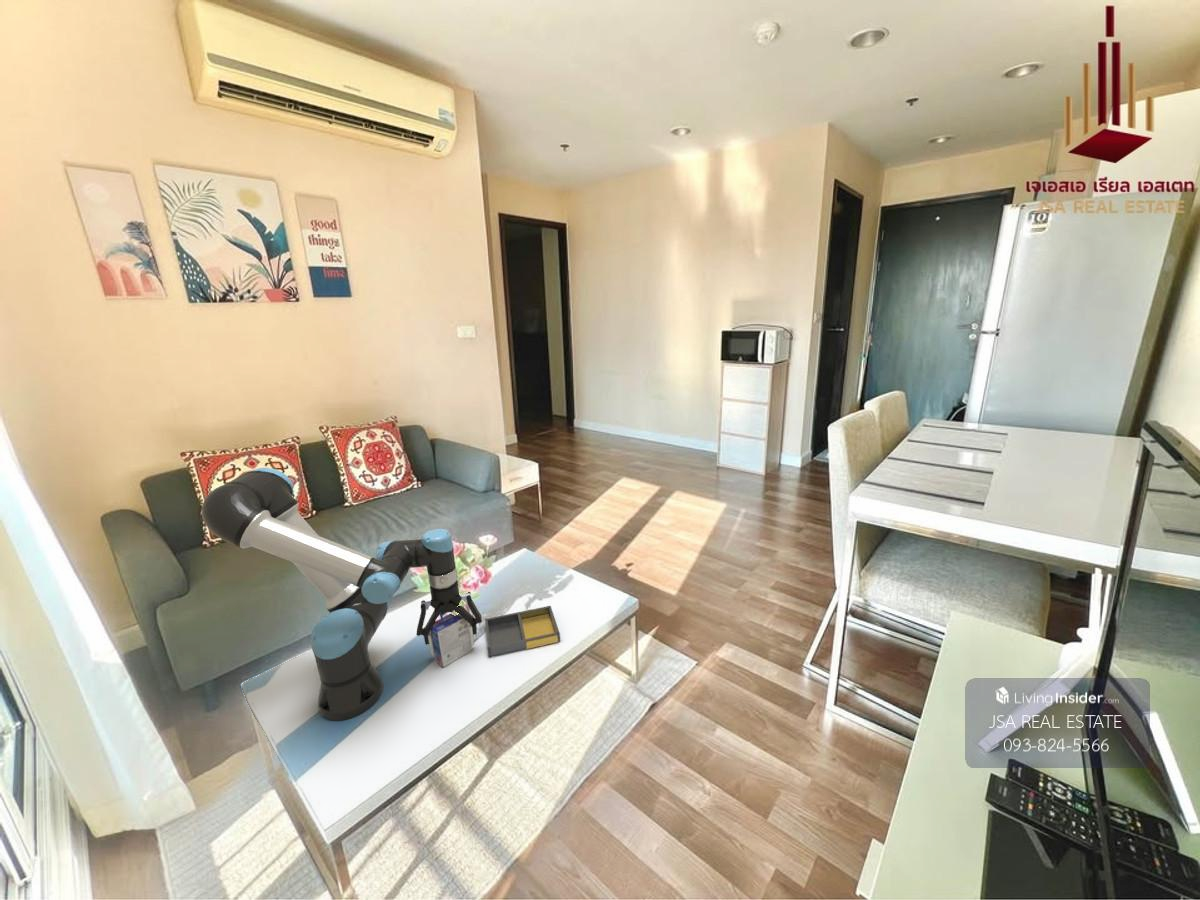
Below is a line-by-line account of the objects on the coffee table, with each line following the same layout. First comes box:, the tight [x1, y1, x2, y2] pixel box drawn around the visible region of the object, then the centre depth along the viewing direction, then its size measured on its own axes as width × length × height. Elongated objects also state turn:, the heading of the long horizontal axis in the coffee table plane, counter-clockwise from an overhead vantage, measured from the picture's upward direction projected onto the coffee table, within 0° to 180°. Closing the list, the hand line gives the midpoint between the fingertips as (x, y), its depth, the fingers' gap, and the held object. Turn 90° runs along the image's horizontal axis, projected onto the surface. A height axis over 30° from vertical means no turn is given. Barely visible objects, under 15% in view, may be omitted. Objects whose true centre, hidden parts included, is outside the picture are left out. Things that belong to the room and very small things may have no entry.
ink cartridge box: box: [431, 612, 473, 668], centre depth 135 cm, size 10×6×14 cm, turn 136°
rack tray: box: [484, 605, 561, 658], centre depth 145 cm, size 21×15×3 cm
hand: (453, 647), depth 137 cm, fingers open, 11 cm apart
